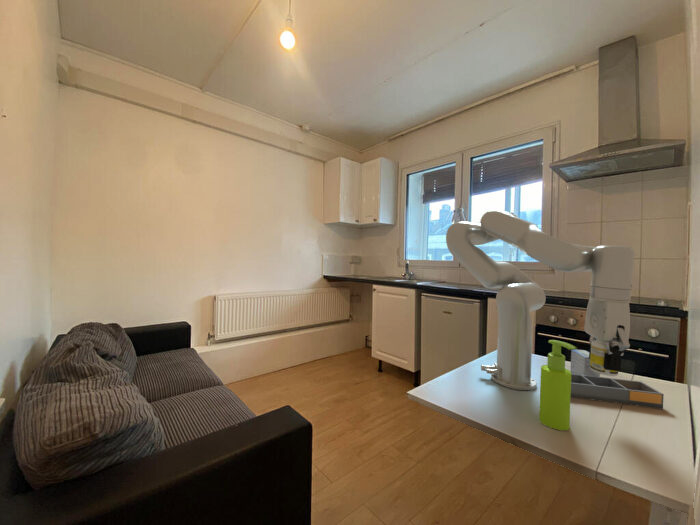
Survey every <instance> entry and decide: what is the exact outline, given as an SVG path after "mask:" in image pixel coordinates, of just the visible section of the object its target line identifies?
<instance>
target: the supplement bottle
mask: <svg viewBox="0 0 700 525" xmlns="http://www.w3.org/2000/svg"><path fill="white" fill-rule="evenodd" d="M616 340H617V339H612V340H611V341H616ZM590 345H591V355H590V369H591V370H592V371H594V372H596V373H599V374H600V375H603V376H607V377H616V376H619V371H613V370H606V369H604V368H603V365H604V353H607V350H606V342H605V341H601V340H599V339H597V338H596V340H594V341H592V343H591V344H590ZM611 345H612V347H614V346H615V345H617V344H611Z"/></svg>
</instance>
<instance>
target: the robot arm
mask: <svg viewBox="0 0 700 525" xmlns="http://www.w3.org/2000/svg"><path fill="white" fill-rule="evenodd" d="M481 216H482V217H481V218H480V222H479V223H477V222H471V221H457V222H454V223H452V224H450V225H449V227H448V228H447V230H446V234H445V243H446V248H447V249H448V251H449V253H450V254H451V255H452V257H453V258H454V259H456V261H458V263H459V264H460V265H462V266H463V267H464V268H465V269H466V270H467V272H469V273H470V275H471V276H473V277H474V278H475V280H476V281H478V283H479V284H481V285H482V286H483V287H484V288H486V289H491V290H496V289H499V290H498V291H497V292H496V295H495V296H496V297H495V304H496V311H497V349H496V351H497V352H496V362H494V363H493V364H491V365H487V364H481V365H480V371H483V372H486V374H489V375H491V376H490V377H491V380H493V381H494V383H497V384H498V385H500V386H503V387H506V388H508V389H512V390H518V391H519V390H520V391H532V390H534V389H536V388H537V386H538V385H537V381H536V380H535V379H534V378H533V377H532V355H533V353H532V350H533V323H532V318H531V316H532V315H531V312H534V311H537V310H539V309H541V308H542V307H544V305H545V304H546V299H547V298H546V293H545V291H544V289H543V288H542V287H541V286H540V285H539V284H538V283H537V282H536V281H535V280H533V279H532V278H531V277H530V276H529V275H527V274H526V273H525V272H523V271H522V270H521V269H520V268H519V267H518V266H516V265H514V264H513V263H511V262H507V261H496V260H494V259H493V258H492V257H490V256H489V255H488V254H487V253H486V252H484V251H483V250H482V249H480V248H479V247H477V246H480V245H486V244H489V243H492V242H495V241H498V240H499V241H500V240H501V241H502V242H505V243H507V244H509V245H511V246H513V247H514V248H517V249H519V251H520V252H522V253H524V254H525V255H527V256H528V257H530V258H531V259H533V260H535V261H537V262H539V263H540V264H543V265H545V266H548V267H549V268H551V269H554V270H556V271H559V272H563V273H582V272H583V273H585V272H591V279H590V289H589V299H588V303H587V307H586V312H585V319H584V327H583V329H584V330H583V331H584V332H585V333H586V334H588V337H589V340H588V341H589V342H588V343H589V351H588V352H589V359H590V355H591V343H592V341H594V340H596V338H597V339H599V340H601V341H605V342H606V350H607V353H604V365H603V368H604V369H606V370H613V371H618V372H620V371H621V368H622V357H623V356H624V355H625V354H624V353H625V352H626V350H627V349H629V348H630V347H631V344H630V341H629V338H630V332H631V312H630V309H631V308H630V303H631V298H632V286H633V274H634V264H635V249H634V248H632V247H631V246H628V245H627V246H626V245H598V246H593V245H584V244H583V245H582V244H577V243H570V242H567V241H565V240H562V239H559V238H557V237H554V236H552V235H550V234H547V233H545V232H543V231H542V230H541V229H539V227H538V225H537V224H536V223H534V222H531V221H528V220H525V219H523V218H520V217H518V216H517V215H516V214H514V213H513V212H510V211H507V210H506V211H505V210H501V209H491V210H489V211H486V212H485V213H484V214H483V215H481ZM612 339H617V340H616V341H611V340H612ZM611 344H617V345H615V346H614V347H612V345H611Z"/></svg>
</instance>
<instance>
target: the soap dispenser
mask: <svg viewBox="0 0 700 525" xmlns="http://www.w3.org/2000/svg"><path fill="white" fill-rule="evenodd" d="M547 342H548V343H549V344H551V345H552V346H551V352H548V353H547V364H544V365H543V364H542V365H541V366H540V383H539V384H540V385H539V386H540V388H539V414H538V418H539V421H541V422H542V424H543V425H544V424H545V425H544V426H546V427H547V426H549V427H548V428H550V427H551V428H550V429H552V428H554V429H553V430H555V429H558V430H557V431H560V430H563V432H564V430H566V431H568V430H570V426H571V424H570V420H571V418H570V417H571V398H572V397H571V370H569V369H567V368H566V355H564V354H562V347H563V348H566V349H567V350H569V351H571V350H578V347H577V346H575V345H573V344H571V343H568V342H565V341H561V340H556V339H549V340H548V341H547ZM541 422H540V423H541Z"/></svg>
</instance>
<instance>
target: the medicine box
mask: <svg viewBox="0 0 700 525" xmlns="http://www.w3.org/2000/svg"><path fill="white" fill-rule="evenodd" d="M570 351H571V352H570V372H571V374H579V375H587V376H596V377H601V374H599V373H596V372H594V371H592V370H591V369H590V359H589V352H590V351H588V350H584V349H572V350H570Z"/></svg>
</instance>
